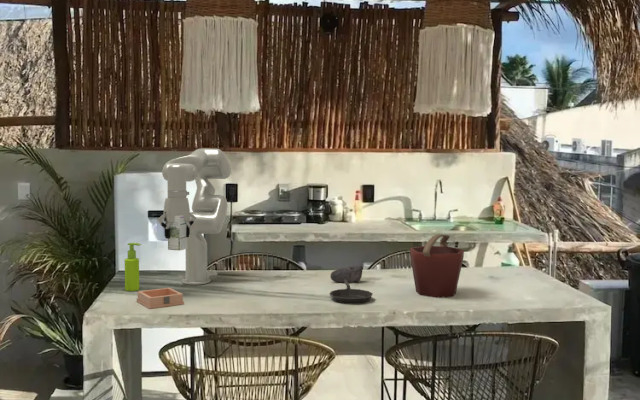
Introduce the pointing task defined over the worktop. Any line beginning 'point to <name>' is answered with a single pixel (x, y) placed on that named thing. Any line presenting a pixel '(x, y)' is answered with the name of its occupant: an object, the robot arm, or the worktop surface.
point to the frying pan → (350, 295)
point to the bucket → (436, 268)
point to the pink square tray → (160, 298)
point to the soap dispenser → (132, 269)
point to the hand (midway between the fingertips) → (177, 237)
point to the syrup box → (177, 234)
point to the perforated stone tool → (347, 274)
